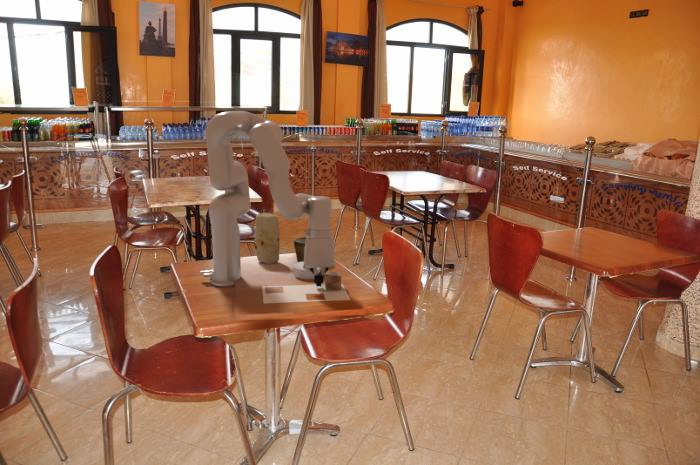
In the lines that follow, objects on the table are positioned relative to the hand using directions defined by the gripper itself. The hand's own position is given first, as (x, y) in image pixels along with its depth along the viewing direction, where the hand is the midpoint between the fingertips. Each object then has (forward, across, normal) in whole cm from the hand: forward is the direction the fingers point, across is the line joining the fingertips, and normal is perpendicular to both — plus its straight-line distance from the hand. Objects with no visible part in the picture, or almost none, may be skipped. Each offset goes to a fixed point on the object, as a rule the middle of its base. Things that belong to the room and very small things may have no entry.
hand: (318, 285), depth 194 cm
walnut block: (+1, +5, 0) cm, 5 cm away
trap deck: (+3, -5, -4) cm, 7 cm away
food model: (+3, -16, +37) cm, 40 cm away
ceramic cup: (+3, -1, +35) cm, 35 cm away
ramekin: (+3, -2, +15) cm, 15 cm away
